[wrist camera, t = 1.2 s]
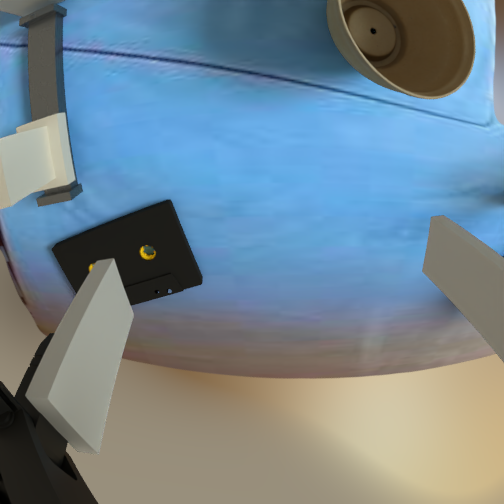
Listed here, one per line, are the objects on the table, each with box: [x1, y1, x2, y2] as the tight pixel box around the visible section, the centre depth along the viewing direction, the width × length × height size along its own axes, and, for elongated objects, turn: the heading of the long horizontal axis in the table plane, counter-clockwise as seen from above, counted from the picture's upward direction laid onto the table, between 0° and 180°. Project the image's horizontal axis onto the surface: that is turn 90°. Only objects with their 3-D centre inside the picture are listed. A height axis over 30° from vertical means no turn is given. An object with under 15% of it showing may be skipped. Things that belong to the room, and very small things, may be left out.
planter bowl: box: [326, 0, 475, 99], centre depth 23 cm, size 16×16×11 cm
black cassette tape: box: [52, 200, 203, 306], centre depth 38 cm, size 18×12×2 cm, turn 106°
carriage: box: [0, 112, 75, 209], centre depth 23 cm, size 8×6×11 cm
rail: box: [19, 3, 83, 207], centre depth 26 cm, size 24×5×4 cm, turn 3°
